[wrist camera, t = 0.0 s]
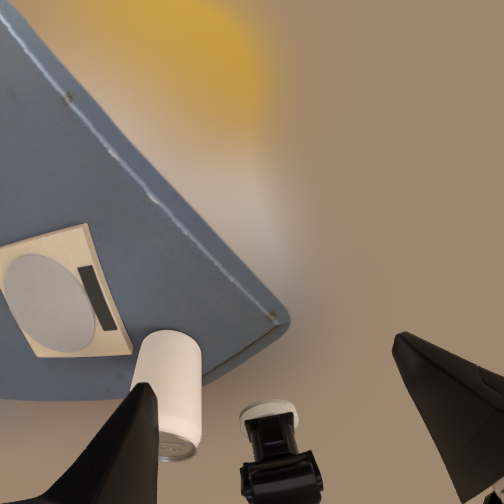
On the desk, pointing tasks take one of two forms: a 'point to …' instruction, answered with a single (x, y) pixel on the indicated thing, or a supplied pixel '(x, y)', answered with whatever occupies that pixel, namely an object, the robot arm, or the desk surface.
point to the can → (173, 391)
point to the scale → (62, 295)
